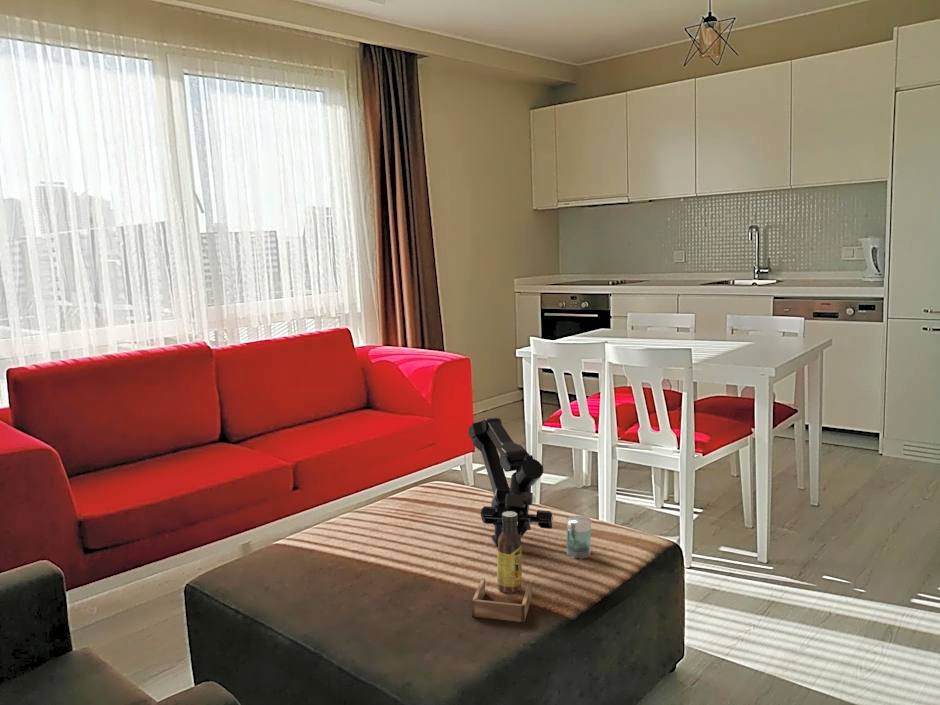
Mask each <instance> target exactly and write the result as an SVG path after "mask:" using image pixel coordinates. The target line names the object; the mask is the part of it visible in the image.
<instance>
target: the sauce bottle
mask: <svg viewBox="0 0 940 705" xmlns="http://www.w3.org/2000/svg"><path fill="white" fill-rule="evenodd" d="M517 520H518V514H517V513H516V512H512V511H508V512H504V513H502V521H503V526H502V530H503V531H502V533H501V534H500V535H499V538H498V546H497V551H496V554H497V555H496V557H497V558H496V562H497V564H496V566H497V567H496V570H497V571H496V578H497V579H496V582H497V588H498V590H499V591H500V592H503V593H507V594H512V593H516V592H519V591H520V590H521V589H522V583H523V581H522V580H523V579H522V578H523V577H522V576H523V575H522V571H523V568H522V567H523V565H522V564H523V542H522V538H521V539H520V537H519V534H518V531H517V524H518V522H517Z"/></svg>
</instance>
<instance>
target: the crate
mask: <svg viewBox="0 0 940 705" xmlns="http://www.w3.org/2000/svg"><path fill="white" fill-rule="evenodd" d="M532 588H533V584H532V582H528V584H527V587H526V590H525V593H524V597H523V599H522V602H521V604H520V603H513V602H502V601H493V600H483V599H484V596H485V594H486V577H481V580H480V582H479V584H478V586H477V588H476V590H475V593H474V595H473V597H472V599H471V617H474V618H485V619H494V620H500V621H501V620H502V621H509V622H520V623H525V622H526V617H527V615H528V612H529V608H530V606H531V601H532V598H533V596H532V595H533V594H532V593H533V589H532Z"/></svg>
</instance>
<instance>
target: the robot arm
mask: <svg viewBox="0 0 940 705" xmlns="http://www.w3.org/2000/svg"><path fill="white" fill-rule="evenodd" d="M467 433H468V436H469V438H470V439H471V442H472V445H473V446H474V447H475V448H476V449H477V450H479V451H480V452H481V455H482V456H481V457H482V460H483V463H484V466H485V469H486V473H487V477H488V479H489V483H490V486H491V490H492V492H493V493H492V494H493V495H492V499H491V502H490V505H491V506H483V507H482V508H481V511H480V518H481V520H482V523H483V524H485V525H493V526H494V534H492V535H491V536H490V537H491V539H492V542H493V543H494V545H495V546H497V547H498V538H499V535H500V534H501V533H502V531H503V530H502V526H503V521H502V513H504V512H508V511H512V512H516V513H517V514H518V520H517V531H518V534H519V537H520V539H521V540H522V538H523V536H524V535H525V534H526V532H527V531H531V529H532V526H531V524H532V523H538V526H539V528H540V529H549V530H551V529H553V527H554V517H553V512H552V511H551V510H538V509H537V511H536V514H532V513H529V511H530V506H533V501H534V497H533V496H534V493H533V492H532V487H533V486H534V485H535V484H536V482H538V481H539V479H540V478H541V477H542V476H543V474H544V466H543V465H542V464H541V462H540V461H538V460H537V459H534V457H533V454H532V455H530V454H529V452H527V450H526V448H524V447H523V446H522V445H521V444H518V443H515V442H514V440H513V439H512V438H511V436H510V435H509V433H508V432H507V430H506V429H505V427H504V426H503V423H502V420H501V418H500V417H499V418H498V417H489V418H484V419H482V420H481V421H477V422H472V423H471V425H470V426H469V427H468V431H467ZM508 472H513V473H512V474H511V478H510V484H509V483H508V480H507V477H506V474H505V473H508ZM509 485H510V486H509Z"/></svg>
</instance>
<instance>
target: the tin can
mask: <svg viewBox="0 0 940 705" xmlns="http://www.w3.org/2000/svg"><path fill="white" fill-rule="evenodd" d="M591 544H592V519H590V518H589V517H588V516H584V515H572V516H569V517H568V518H567V521H566V555H569V556H571V557H574V558H586V559H588V558H590V557H591V549H592V545H591ZM569 556H568V557H569ZM589 556H590V557H589ZM571 557H570V558H571ZM587 557H588V558H587ZM574 558H573V559H574Z"/></svg>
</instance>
